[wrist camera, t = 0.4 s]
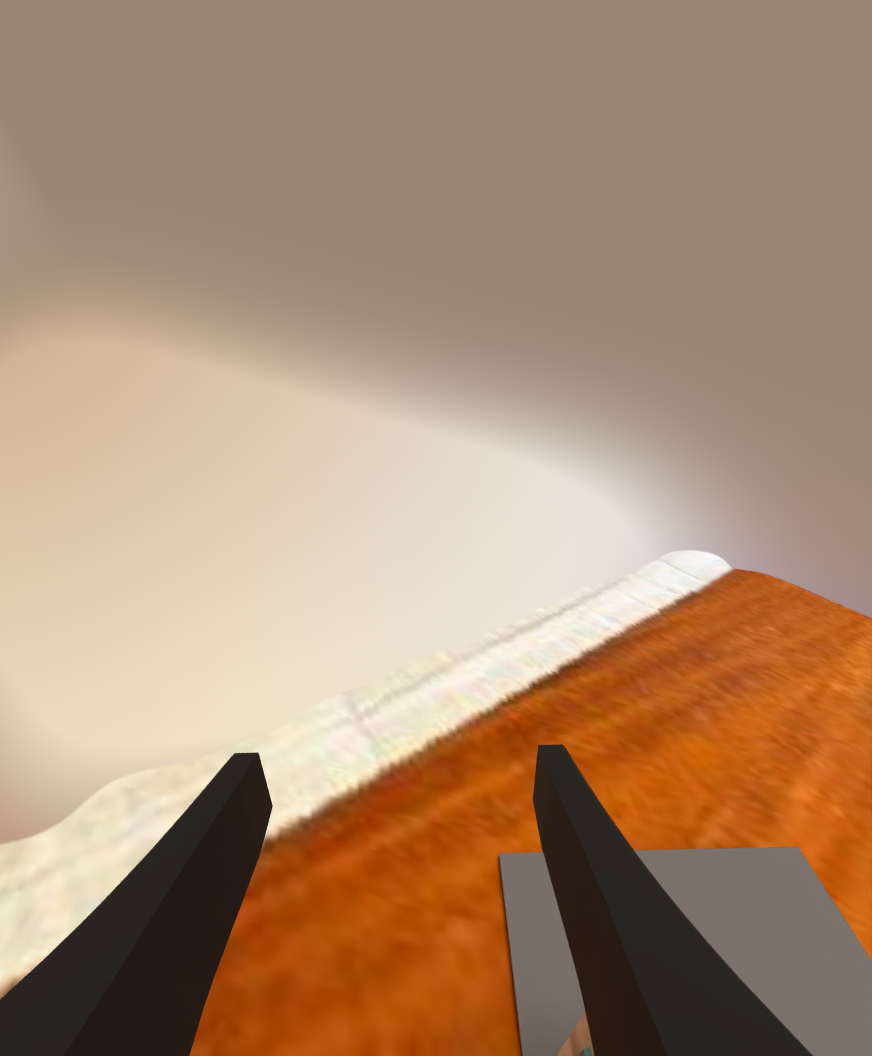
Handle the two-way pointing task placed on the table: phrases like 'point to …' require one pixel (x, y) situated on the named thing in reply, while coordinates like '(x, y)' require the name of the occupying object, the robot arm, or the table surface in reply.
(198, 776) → the table surface
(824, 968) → the rubber mat
